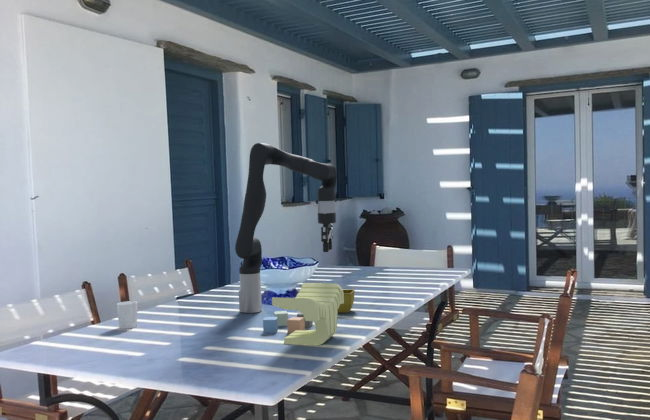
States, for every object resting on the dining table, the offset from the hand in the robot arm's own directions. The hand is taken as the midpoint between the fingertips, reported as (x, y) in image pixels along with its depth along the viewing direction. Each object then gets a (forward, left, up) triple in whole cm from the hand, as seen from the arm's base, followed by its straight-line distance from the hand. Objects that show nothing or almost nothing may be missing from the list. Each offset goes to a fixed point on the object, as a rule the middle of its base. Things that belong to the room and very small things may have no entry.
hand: (327, 250), depth 247 cm
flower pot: (+4, +10, -28) cm, 30 cm away
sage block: (-17, -15, -28) cm, 36 cm away
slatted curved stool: (+1, -38, -28) cm, 47 cm away
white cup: (-80, -22, -28) cm, 87 cm away
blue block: (-18, -26, -28) cm, 42 cm away
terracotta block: (-8, -26, -28) cm, 39 cm away
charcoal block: (-7, -16, -28) cm, 33 cm away
